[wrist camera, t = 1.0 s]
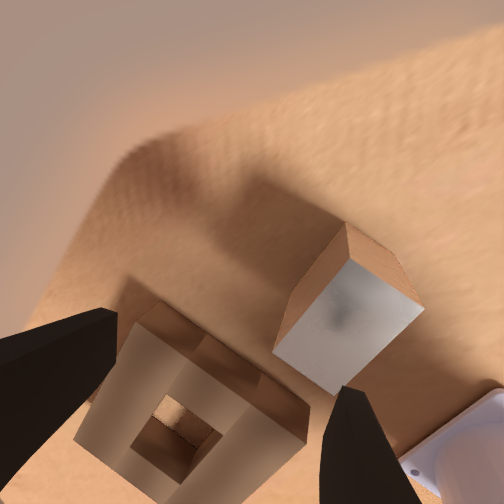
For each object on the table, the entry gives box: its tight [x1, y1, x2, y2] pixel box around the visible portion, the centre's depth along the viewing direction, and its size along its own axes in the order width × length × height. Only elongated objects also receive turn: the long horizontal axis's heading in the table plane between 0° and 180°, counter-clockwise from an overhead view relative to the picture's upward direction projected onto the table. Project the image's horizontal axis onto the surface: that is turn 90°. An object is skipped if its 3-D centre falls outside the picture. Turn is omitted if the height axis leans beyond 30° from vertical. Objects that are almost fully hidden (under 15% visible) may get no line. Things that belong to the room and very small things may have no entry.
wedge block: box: [272, 222, 425, 396], centre depth 14 cm, size 3×5×6 cm, turn 148°
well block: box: [73, 301, 310, 504], centre depth 21 cm, size 12×13×3 cm
